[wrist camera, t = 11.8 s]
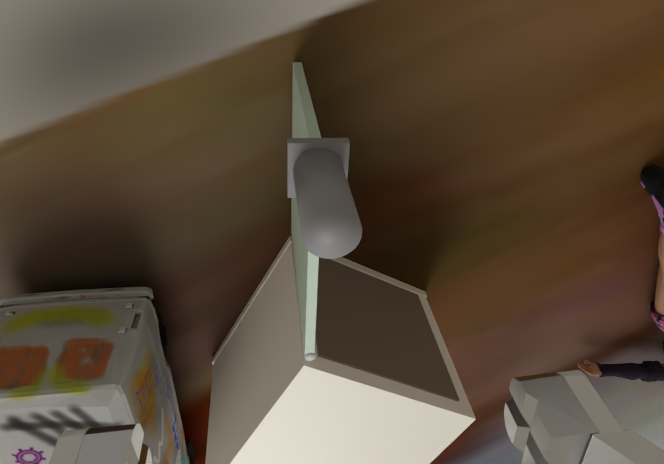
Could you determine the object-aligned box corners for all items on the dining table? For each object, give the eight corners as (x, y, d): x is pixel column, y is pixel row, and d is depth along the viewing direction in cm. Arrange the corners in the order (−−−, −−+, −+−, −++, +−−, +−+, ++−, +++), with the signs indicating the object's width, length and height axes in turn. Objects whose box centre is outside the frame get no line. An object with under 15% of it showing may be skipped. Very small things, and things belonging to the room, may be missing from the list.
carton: (338, 395, 48) (361, 530, 38) (212, 358, 43) (200, 500, 33) (425, 291, 42) (478, 418, 32) (290, 235, 38) (303, 363, 28)
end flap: (317, 55, 31) (371, 201, 17) (311, 235, 37) (345, 443, 24) (276, 54, 30) (295, 203, 17) (277, 236, 37) (292, 447, 23)
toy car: (87, 481, 51) (55, 599, 42) (2, 278, 37) (-70, 394, 29) (201, 470, 52) (191, 582, 44) (159, 269, 38) (134, 377, 30)
